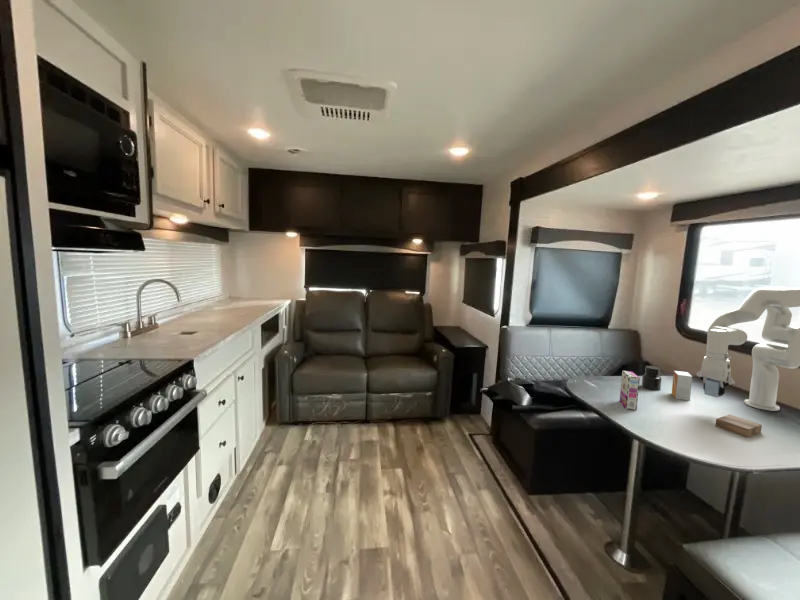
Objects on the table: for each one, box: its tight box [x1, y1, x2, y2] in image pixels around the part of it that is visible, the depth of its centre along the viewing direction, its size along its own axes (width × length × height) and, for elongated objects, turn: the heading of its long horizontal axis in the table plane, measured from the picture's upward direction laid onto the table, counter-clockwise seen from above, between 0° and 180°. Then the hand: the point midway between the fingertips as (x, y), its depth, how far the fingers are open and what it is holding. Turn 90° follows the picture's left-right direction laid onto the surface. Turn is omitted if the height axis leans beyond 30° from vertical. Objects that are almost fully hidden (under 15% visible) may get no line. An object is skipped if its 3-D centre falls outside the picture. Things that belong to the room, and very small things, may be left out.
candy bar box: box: [619, 370, 641, 411], centre depth 179 cm, size 11×5×16 cm, turn 163°
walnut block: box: [714, 414, 763, 439], centre depth 156 cm, size 11×11×4 cm
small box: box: [671, 370, 693, 401], centre depth 192 cm, size 8×6×13 cm
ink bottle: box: [641, 365, 662, 391], centre depth 206 cm, size 10×9×12 cm
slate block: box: [704, 379, 724, 398], centre depth 171 cm, size 5×5×7 cm
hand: (713, 392), depth 171 cm, fingers closed on slate block, 5 cm apart
